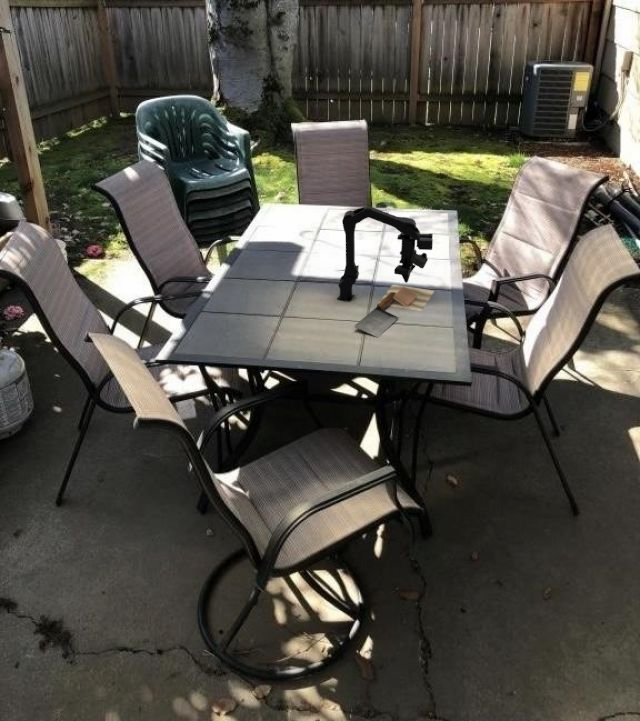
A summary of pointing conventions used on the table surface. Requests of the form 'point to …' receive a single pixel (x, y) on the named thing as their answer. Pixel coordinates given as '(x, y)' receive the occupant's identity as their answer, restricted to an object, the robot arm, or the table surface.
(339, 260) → the table surface
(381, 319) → the meat cleaver
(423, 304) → the board
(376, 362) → the table surface
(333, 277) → the table surface
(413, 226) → the robot arm
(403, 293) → the tile
